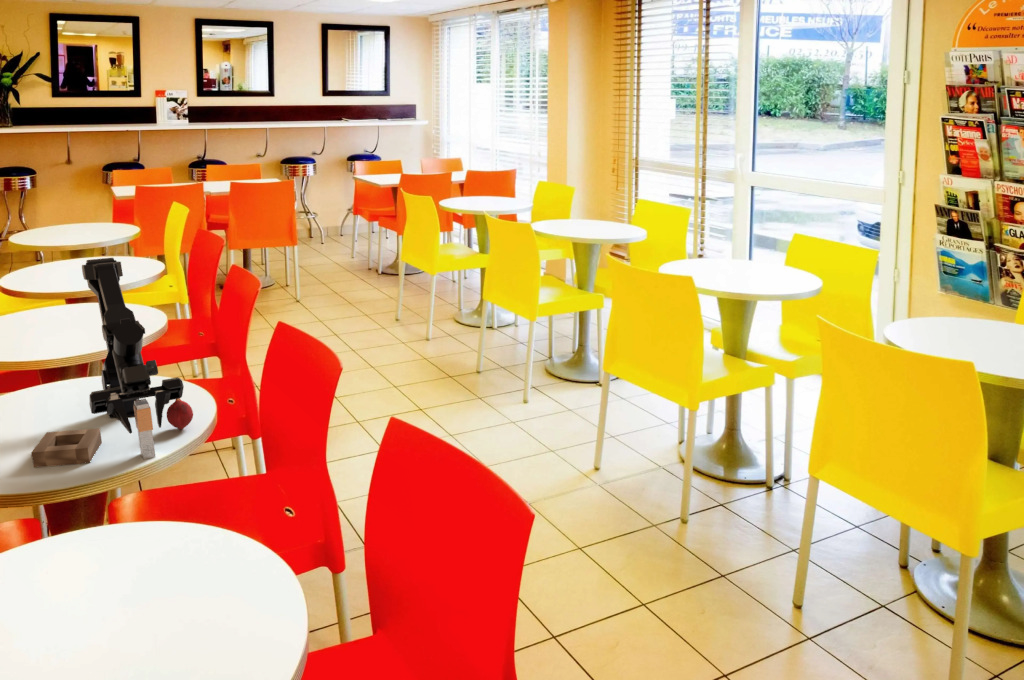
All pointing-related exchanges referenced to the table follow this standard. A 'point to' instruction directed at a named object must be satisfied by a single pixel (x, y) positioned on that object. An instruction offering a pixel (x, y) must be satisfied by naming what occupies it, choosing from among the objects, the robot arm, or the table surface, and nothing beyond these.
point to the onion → (179, 414)
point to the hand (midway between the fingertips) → (145, 429)
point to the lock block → (66, 447)
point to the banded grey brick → (144, 428)
